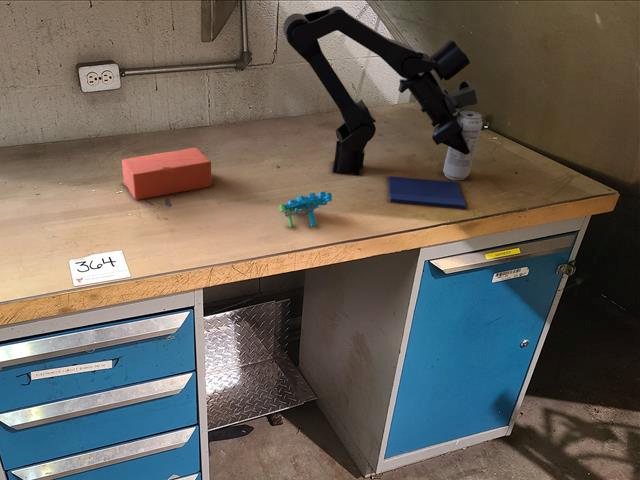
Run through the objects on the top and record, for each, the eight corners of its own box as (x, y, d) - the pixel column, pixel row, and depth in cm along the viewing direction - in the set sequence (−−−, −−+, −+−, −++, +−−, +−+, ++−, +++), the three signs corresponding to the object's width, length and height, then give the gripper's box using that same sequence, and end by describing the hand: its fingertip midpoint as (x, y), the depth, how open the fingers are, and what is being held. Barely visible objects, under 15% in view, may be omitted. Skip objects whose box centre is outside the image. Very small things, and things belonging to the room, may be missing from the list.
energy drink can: (470, 174, 145) (487, 113, 136) (464, 183, 141) (481, 120, 132) (445, 168, 148) (460, 108, 139) (439, 177, 143) (453, 115, 135)
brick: (196, 171, 143) (196, 147, 140) (211, 186, 137) (211, 161, 133) (123, 183, 137) (121, 158, 133) (135, 200, 130) (133, 174, 127)
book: (390, 202, 132) (390, 198, 132) (388, 177, 143) (389, 174, 142) (465, 209, 130) (466, 205, 130) (457, 183, 141) (458, 180, 140)
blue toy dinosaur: (326, 200, 128) (335, 185, 118) (332, 227, 127) (342, 213, 118) (275, 210, 127) (281, 195, 117) (281, 237, 127) (287, 224, 117)
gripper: (461, 83, 124) (502, 142, 128) (462, 61, 138) (499, 114, 142) (415, 116, 130) (455, 171, 134) (420, 92, 145) (457, 142, 149)
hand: (468, 148), depth 140 cm, fingers closed on energy drink can, 6 cm apart
